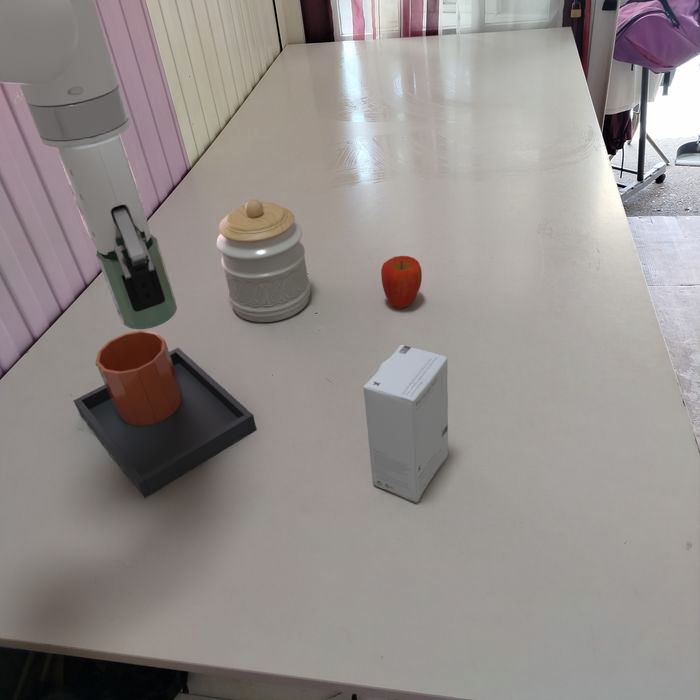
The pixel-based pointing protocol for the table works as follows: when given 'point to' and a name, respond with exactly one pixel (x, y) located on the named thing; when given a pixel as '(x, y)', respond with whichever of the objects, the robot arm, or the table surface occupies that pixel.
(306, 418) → the table surface
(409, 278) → the apple
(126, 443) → the tray
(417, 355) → the cosmetic box
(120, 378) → the terracotta cup
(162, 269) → the sage cup
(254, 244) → the jar
